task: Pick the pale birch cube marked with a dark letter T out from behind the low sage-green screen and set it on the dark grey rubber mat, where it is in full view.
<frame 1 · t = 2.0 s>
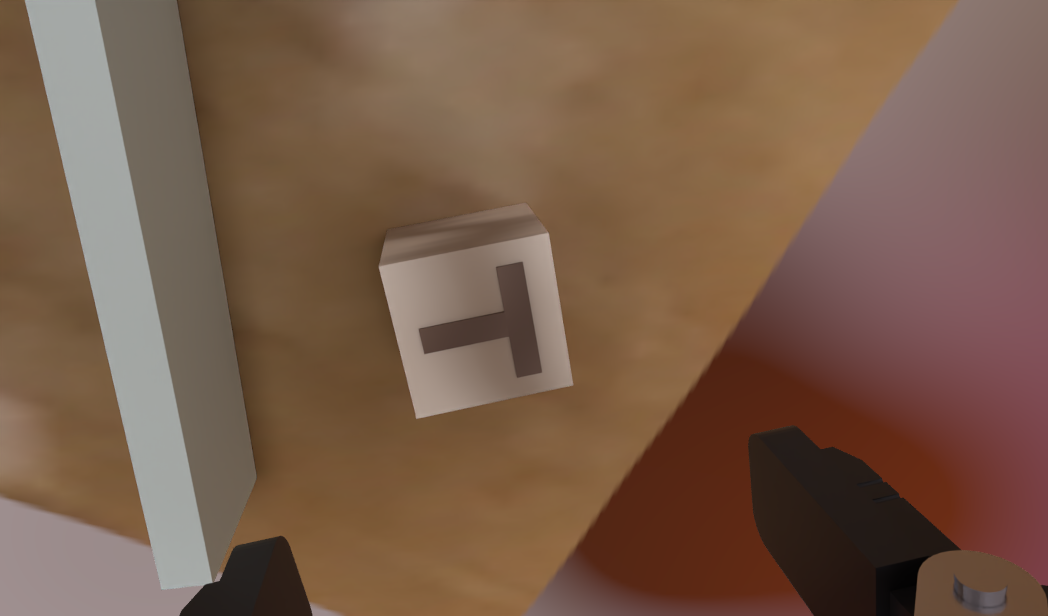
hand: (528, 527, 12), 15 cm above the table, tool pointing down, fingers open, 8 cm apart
letter cube: (470, 281, 26), on the table
screen: (196, 251, 24), on the table
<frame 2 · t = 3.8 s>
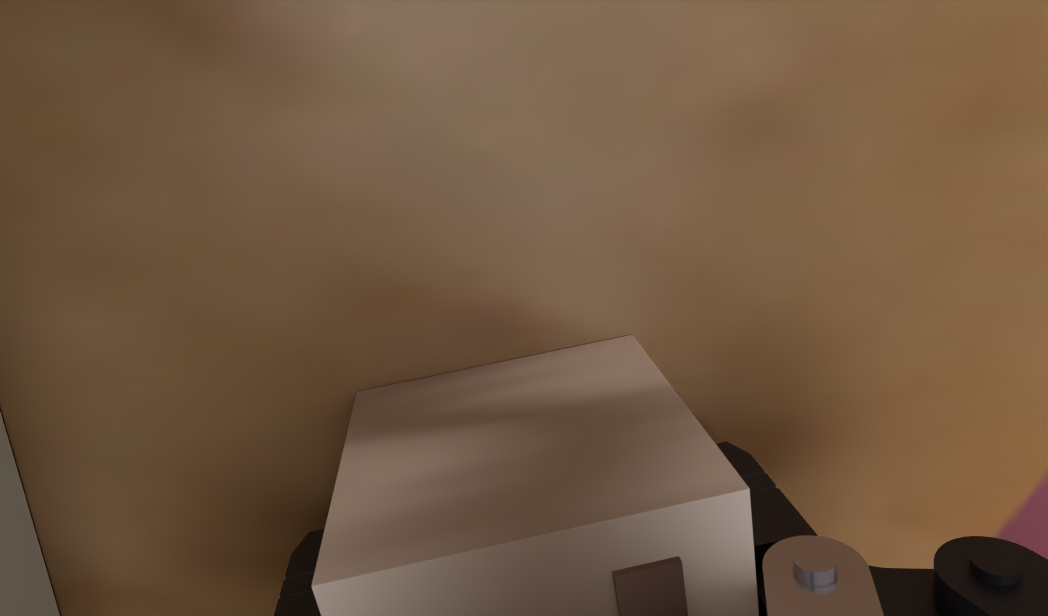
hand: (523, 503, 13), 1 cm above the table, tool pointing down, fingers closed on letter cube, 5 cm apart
letter cube: (520, 481, 13), on the table, touching gripper
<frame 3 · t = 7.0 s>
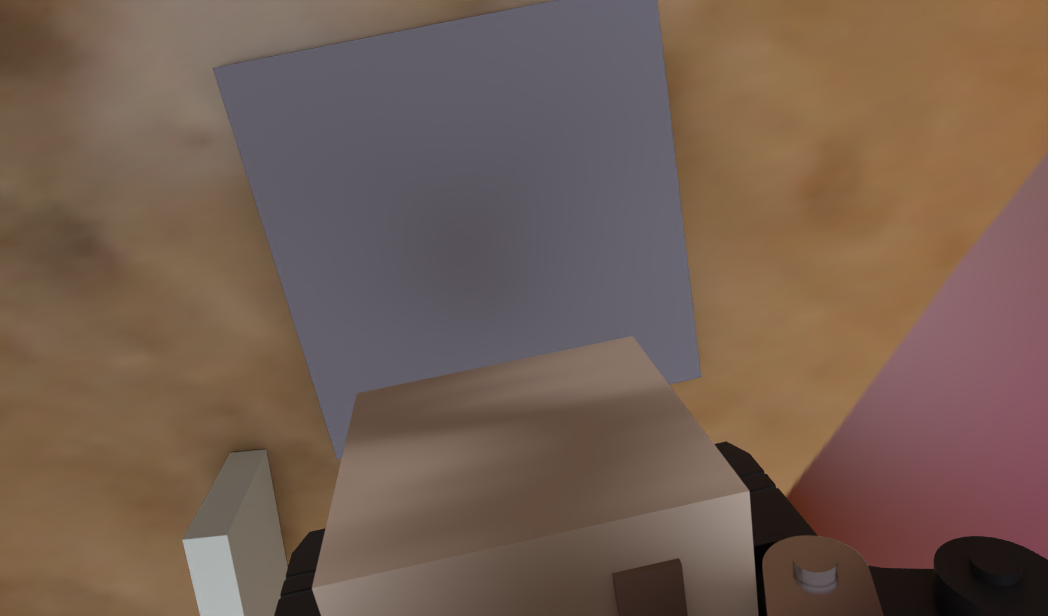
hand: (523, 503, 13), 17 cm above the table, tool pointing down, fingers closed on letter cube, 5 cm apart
letter cube: (520, 483, 13), point 16 cm above the table, touching gripper
mat: (482, 234, 29), on the table
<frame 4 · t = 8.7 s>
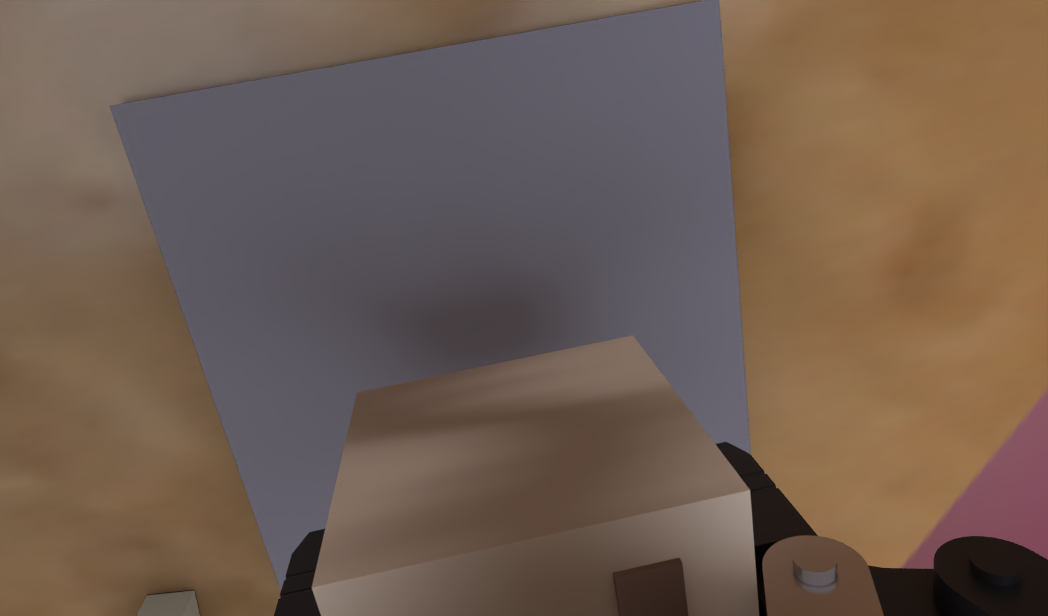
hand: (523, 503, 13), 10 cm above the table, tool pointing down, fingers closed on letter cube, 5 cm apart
letter cube: (520, 482, 13), point 9 cm above the table, touching gripper
mat: (478, 323, 22), on the table
when the fingers open (3 cm above the table, at t = 10.4 s): letter cube drops 1 cm, resting on mat.
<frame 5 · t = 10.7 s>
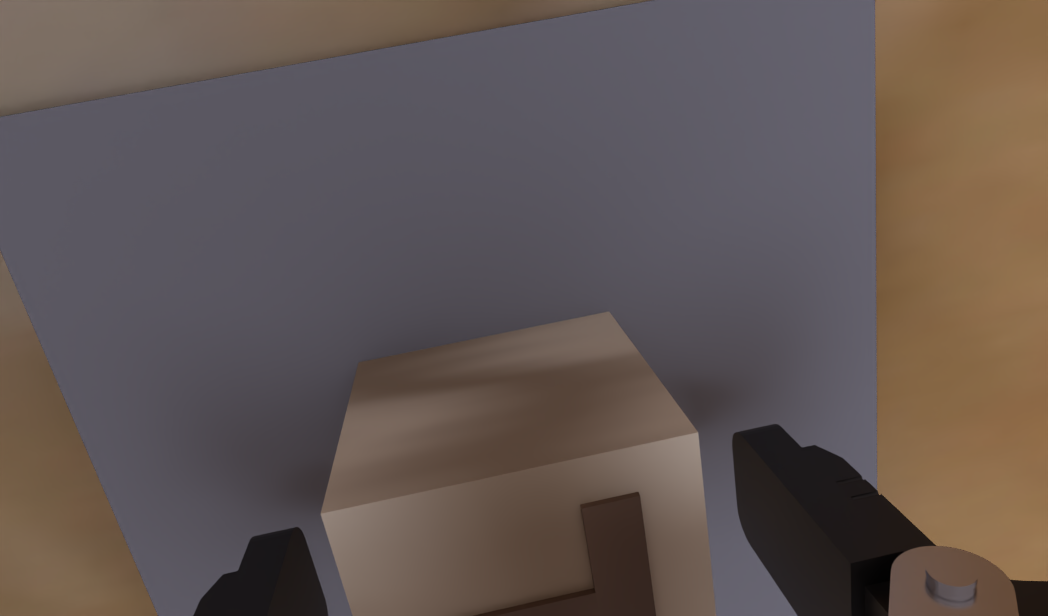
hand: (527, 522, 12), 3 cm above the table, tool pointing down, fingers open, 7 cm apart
letter cube: (507, 446, 15), point 1 cm above the table, touching mat
mat: (507, 427, 16), on the table
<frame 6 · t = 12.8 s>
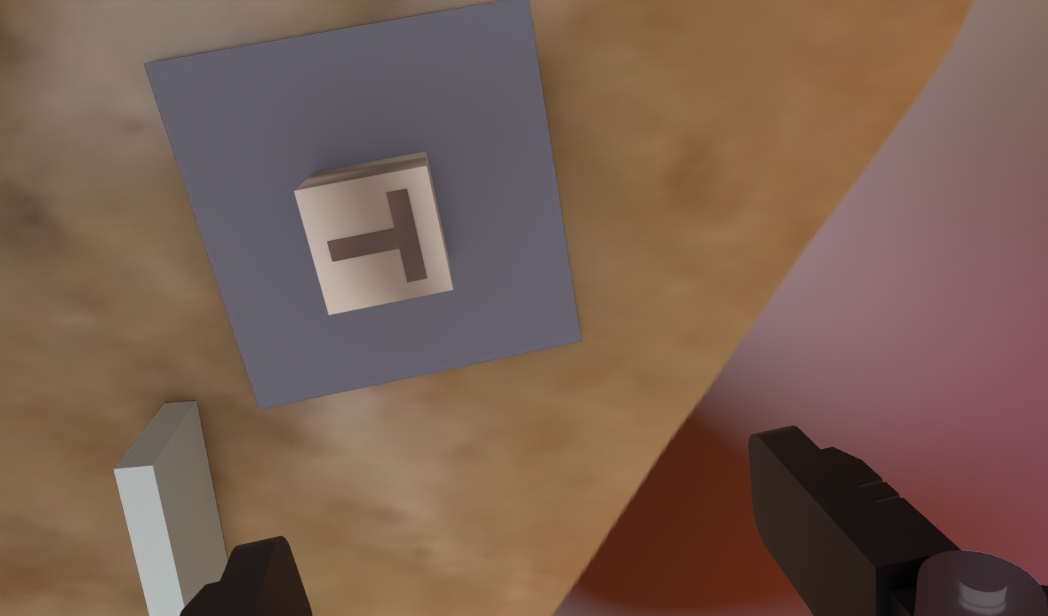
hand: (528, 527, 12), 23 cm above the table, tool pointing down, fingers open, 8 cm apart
letter cube: (383, 216, 32), point 1 cm above the table, touching mat
mat: (385, 213, 33), on the table
screen: (211, 556, 37), on the table
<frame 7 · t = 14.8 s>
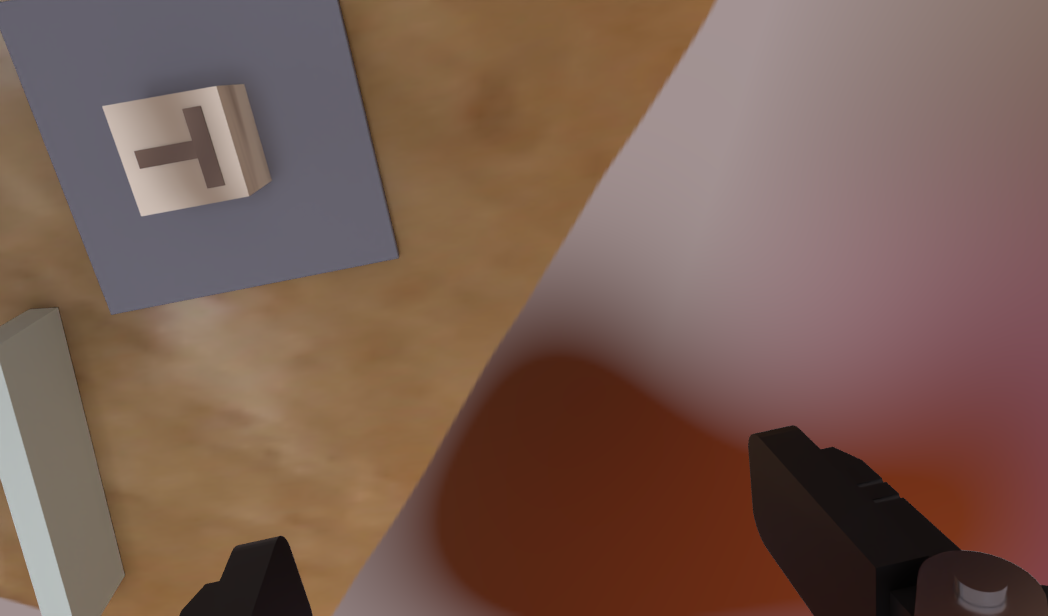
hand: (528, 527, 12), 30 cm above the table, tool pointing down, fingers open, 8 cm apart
letter cube: (210, 142, 37), point 1 cm above the table, touching mat
mat: (216, 140, 38), on the table
screen: (80, 451, 42), on the table
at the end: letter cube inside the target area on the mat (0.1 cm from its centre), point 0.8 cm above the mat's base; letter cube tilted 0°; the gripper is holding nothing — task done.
